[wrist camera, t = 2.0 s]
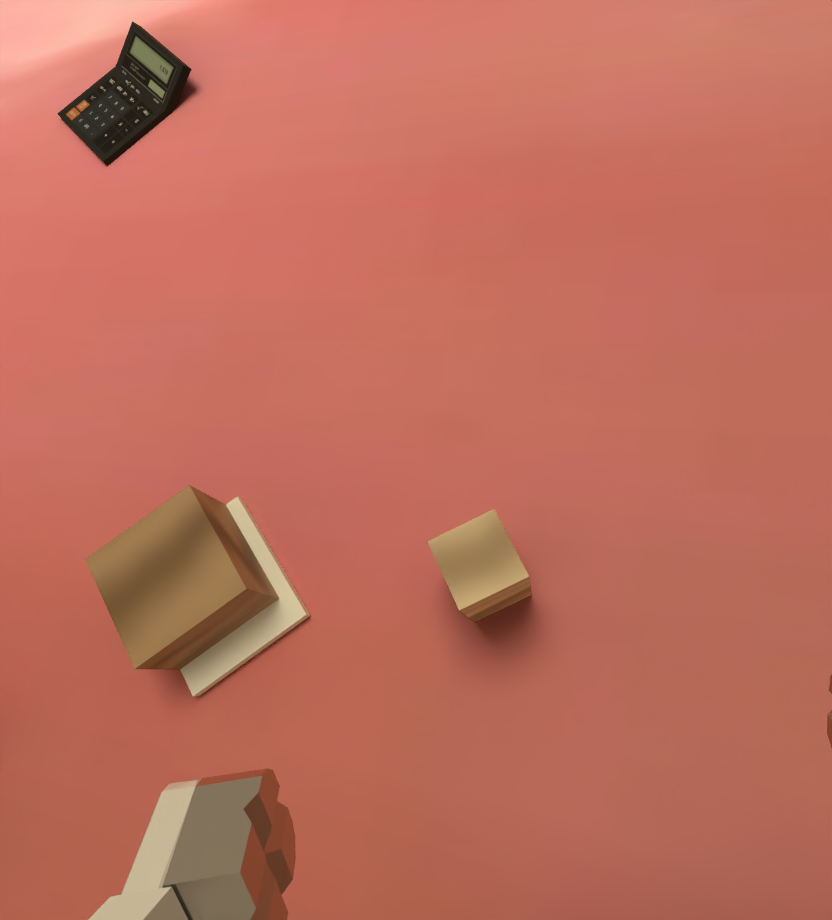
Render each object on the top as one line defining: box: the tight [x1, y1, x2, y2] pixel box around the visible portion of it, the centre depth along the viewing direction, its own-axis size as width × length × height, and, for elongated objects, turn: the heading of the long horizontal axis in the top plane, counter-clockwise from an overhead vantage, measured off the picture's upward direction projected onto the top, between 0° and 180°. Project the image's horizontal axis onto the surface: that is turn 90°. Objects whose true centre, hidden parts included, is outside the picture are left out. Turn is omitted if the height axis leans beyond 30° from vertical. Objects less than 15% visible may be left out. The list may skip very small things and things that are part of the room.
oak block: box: [428, 509, 532, 622], centre depth 37 cm, size 4×4×8 cm
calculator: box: [58, 22, 191, 166], centre depth 61 cm, size 9×12×3 cm
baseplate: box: [180, 497, 311, 696], centre depth 44 cm, size 10×9×1 cm
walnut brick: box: [85, 485, 279, 670], centre depth 41 cm, size 8×8×5 cm
